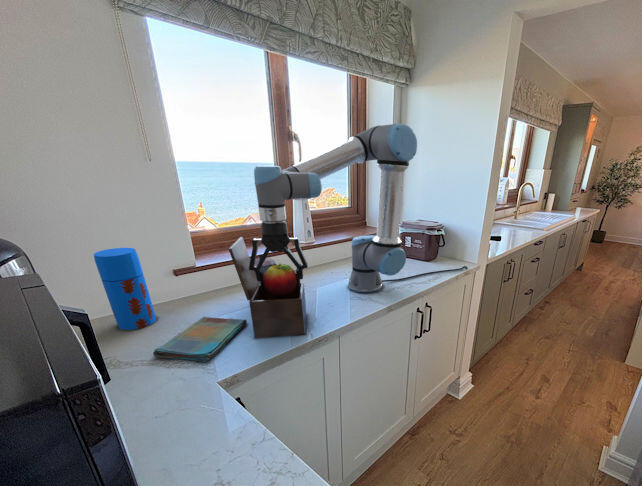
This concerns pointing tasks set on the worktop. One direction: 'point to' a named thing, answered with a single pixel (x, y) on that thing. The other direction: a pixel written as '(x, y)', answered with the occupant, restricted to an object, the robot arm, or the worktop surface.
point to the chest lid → (243, 267)
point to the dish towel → (201, 339)
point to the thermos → (125, 287)
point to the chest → (278, 313)
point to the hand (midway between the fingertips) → (281, 289)
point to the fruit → (280, 280)
